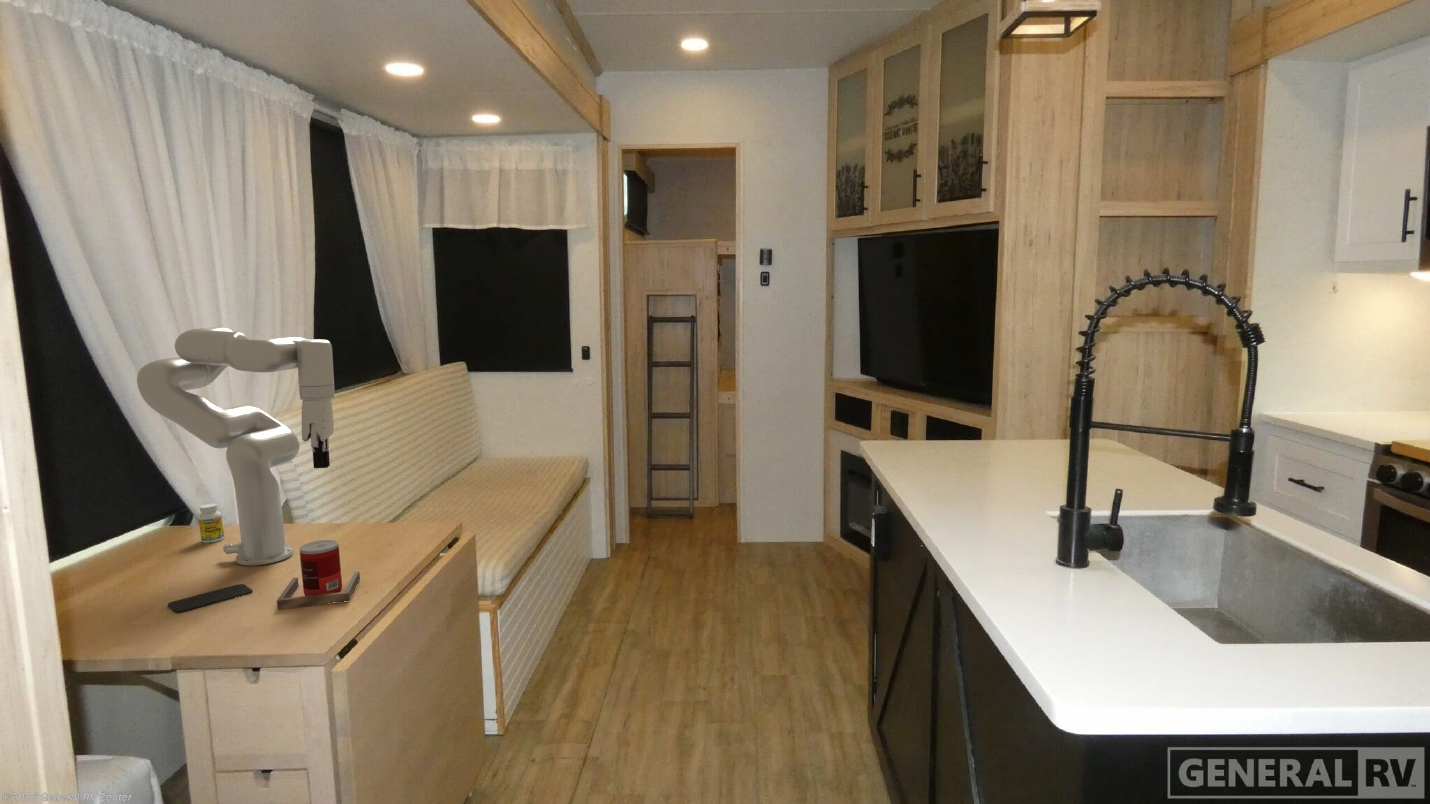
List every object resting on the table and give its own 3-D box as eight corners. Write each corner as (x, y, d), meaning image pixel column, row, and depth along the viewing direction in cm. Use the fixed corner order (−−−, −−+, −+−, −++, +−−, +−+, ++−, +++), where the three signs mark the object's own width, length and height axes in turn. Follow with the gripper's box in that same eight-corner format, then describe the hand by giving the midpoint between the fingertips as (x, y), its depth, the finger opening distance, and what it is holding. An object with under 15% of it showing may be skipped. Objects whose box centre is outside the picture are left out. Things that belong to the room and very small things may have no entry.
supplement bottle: (221, 535, 223) (217, 501, 222) (226, 539, 220) (222, 505, 218) (198, 540, 220) (194, 505, 218) (203, 544, 216) (199, 509, 214)
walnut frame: (277, 609, 172) (276, 600, 172) (293, 586, 185) (292, 577, 185) (349, 601, 175) (348, 593, 175) (360, 579, 188) (359, 571, 188)
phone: (254, 590, 182) (177, 612, 171) (254, 594, 182) (177, 615, 171) (242, 583, 187) (165, 603, 176) (242, 586, 187) (166, 606, 176)
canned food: (346, 585, 185) (342, 538, 183) (337, 598, 177) (333, 549, 176) (310, 588, 184) (305, 541, 182) (299, 601, 176) (294, 552, 174)
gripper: (309, 387, 200) (313, 460, 203) (290, 397, 185) (295, 475, 189) (342, 387, 201) (346, 459, 204) (325, 396, 187) (330, 474, 190)
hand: (321, 467), depth 196 cm, fingers closed
